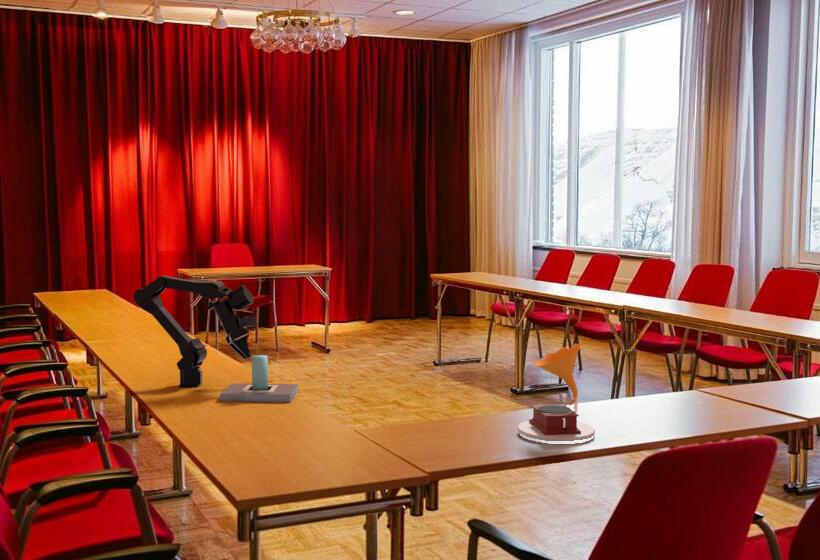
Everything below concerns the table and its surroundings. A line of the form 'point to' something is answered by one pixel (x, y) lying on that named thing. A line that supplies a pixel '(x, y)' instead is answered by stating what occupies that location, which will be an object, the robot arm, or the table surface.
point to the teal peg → (260, 372)
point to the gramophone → (558, 418)
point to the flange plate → (259, 393)
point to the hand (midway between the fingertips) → (247, 358)
